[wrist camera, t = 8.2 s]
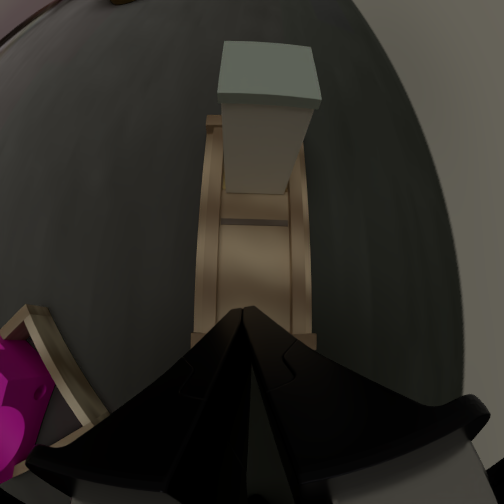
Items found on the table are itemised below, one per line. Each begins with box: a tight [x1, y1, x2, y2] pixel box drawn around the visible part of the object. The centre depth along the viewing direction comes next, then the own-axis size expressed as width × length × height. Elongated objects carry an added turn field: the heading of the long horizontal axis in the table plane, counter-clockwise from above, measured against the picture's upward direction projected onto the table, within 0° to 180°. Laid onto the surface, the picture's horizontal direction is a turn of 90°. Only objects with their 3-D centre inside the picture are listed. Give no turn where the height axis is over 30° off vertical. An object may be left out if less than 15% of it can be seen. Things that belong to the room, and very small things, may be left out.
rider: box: [217, 41, 322, 195], centre depth 19 cm, size 5×5×12 cm
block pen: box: [0, 304, 110, 478], centre depth 17 cm, size 12×21×4 cm, turn 127°
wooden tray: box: [191, 115, 316, 350], centre depth 24 cm, size 20×9×3 cm, turn 179°
